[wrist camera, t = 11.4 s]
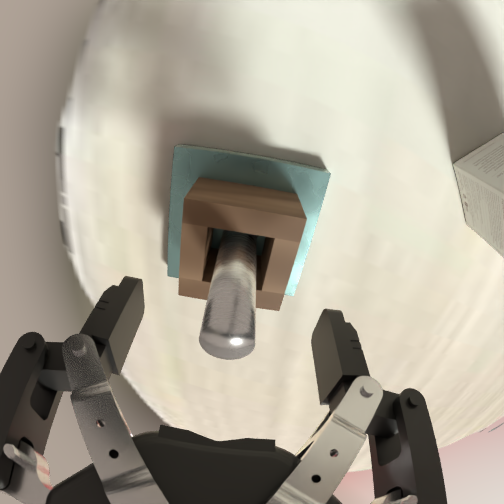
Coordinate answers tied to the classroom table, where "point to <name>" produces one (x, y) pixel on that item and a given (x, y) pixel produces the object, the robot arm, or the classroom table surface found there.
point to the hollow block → (246, 221)
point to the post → (238, 238)
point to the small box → (484, 191)
